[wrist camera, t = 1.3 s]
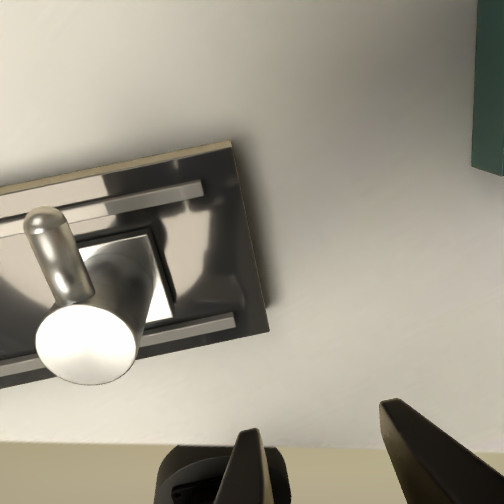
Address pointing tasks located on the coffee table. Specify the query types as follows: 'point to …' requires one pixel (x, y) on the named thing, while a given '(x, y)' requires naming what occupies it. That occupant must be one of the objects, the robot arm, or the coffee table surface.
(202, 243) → the slide rail base
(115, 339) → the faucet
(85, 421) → the coffee table surface
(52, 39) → the coffee table surface
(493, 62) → the button block
